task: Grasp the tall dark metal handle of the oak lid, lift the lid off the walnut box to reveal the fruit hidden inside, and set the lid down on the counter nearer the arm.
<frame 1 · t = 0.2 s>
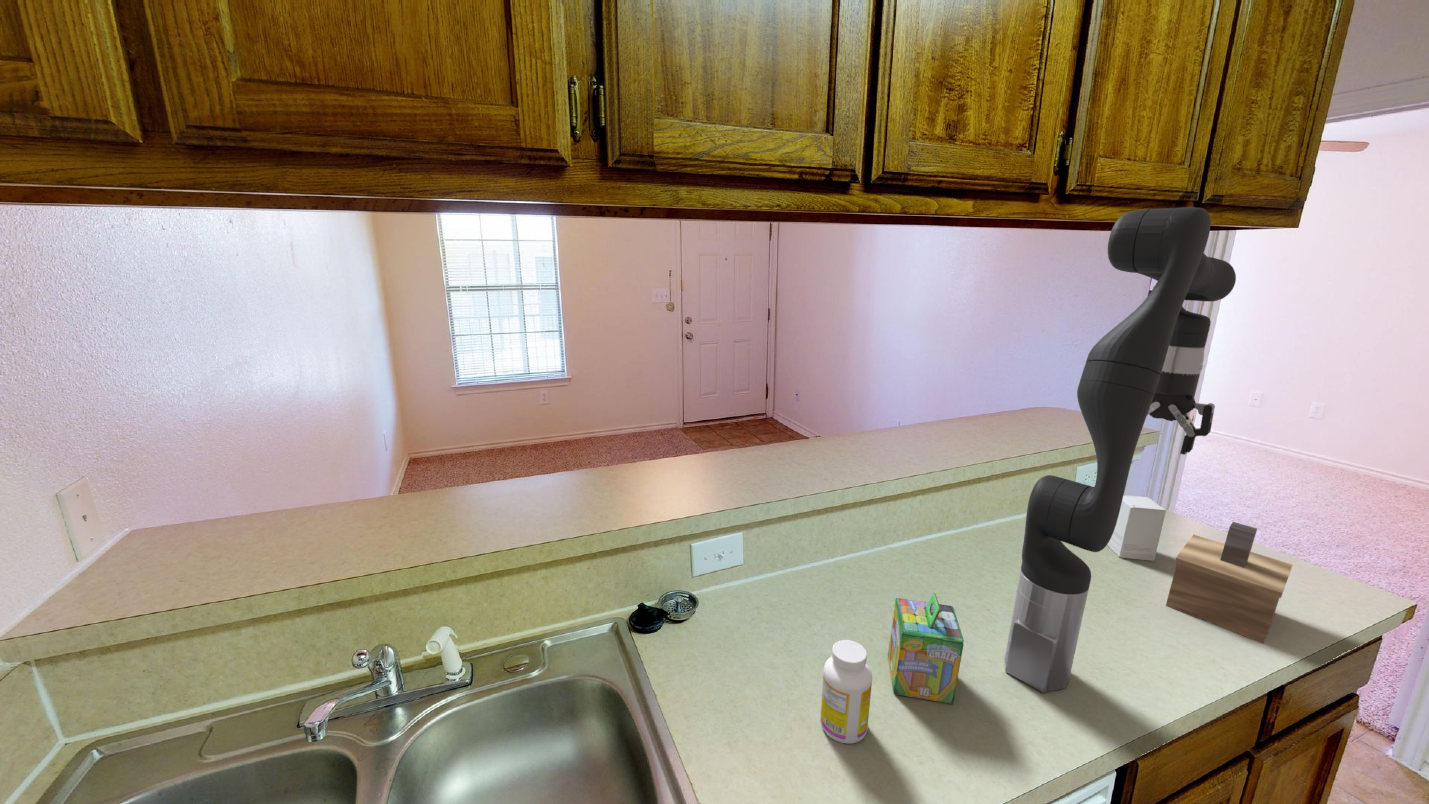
hand: (1156, 447, 111), 29 cm above the worktop, fingers open, 8 cm apart
supplement box: (1128, 552, 128), on the worktop
box: (1219, 609, 108), on the worktop
lid: (1232, 565, 105), point 9 cm above the worktop, touching box
supplement bottle: (842, 727, 80), on the worktop
chalk box: (919, 680, 89), on the worktop
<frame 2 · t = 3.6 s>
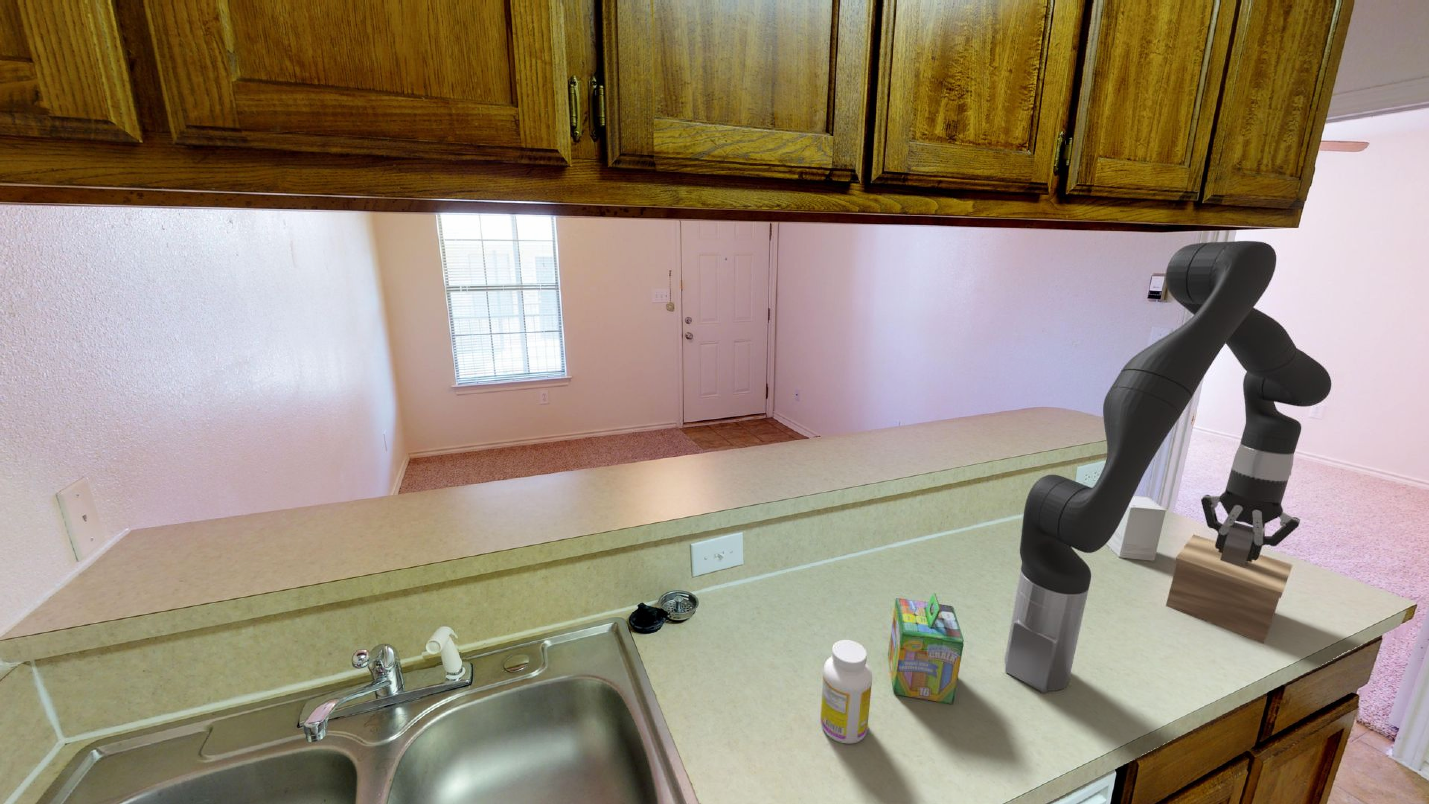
hand: (1235, 555, 105), 12 cm above the worktop, fingers closed on lid, 3 cm apart
lid: (1232, 565, 105), point 9 cm above the worktop, touching box, gripper
everything else where it was.
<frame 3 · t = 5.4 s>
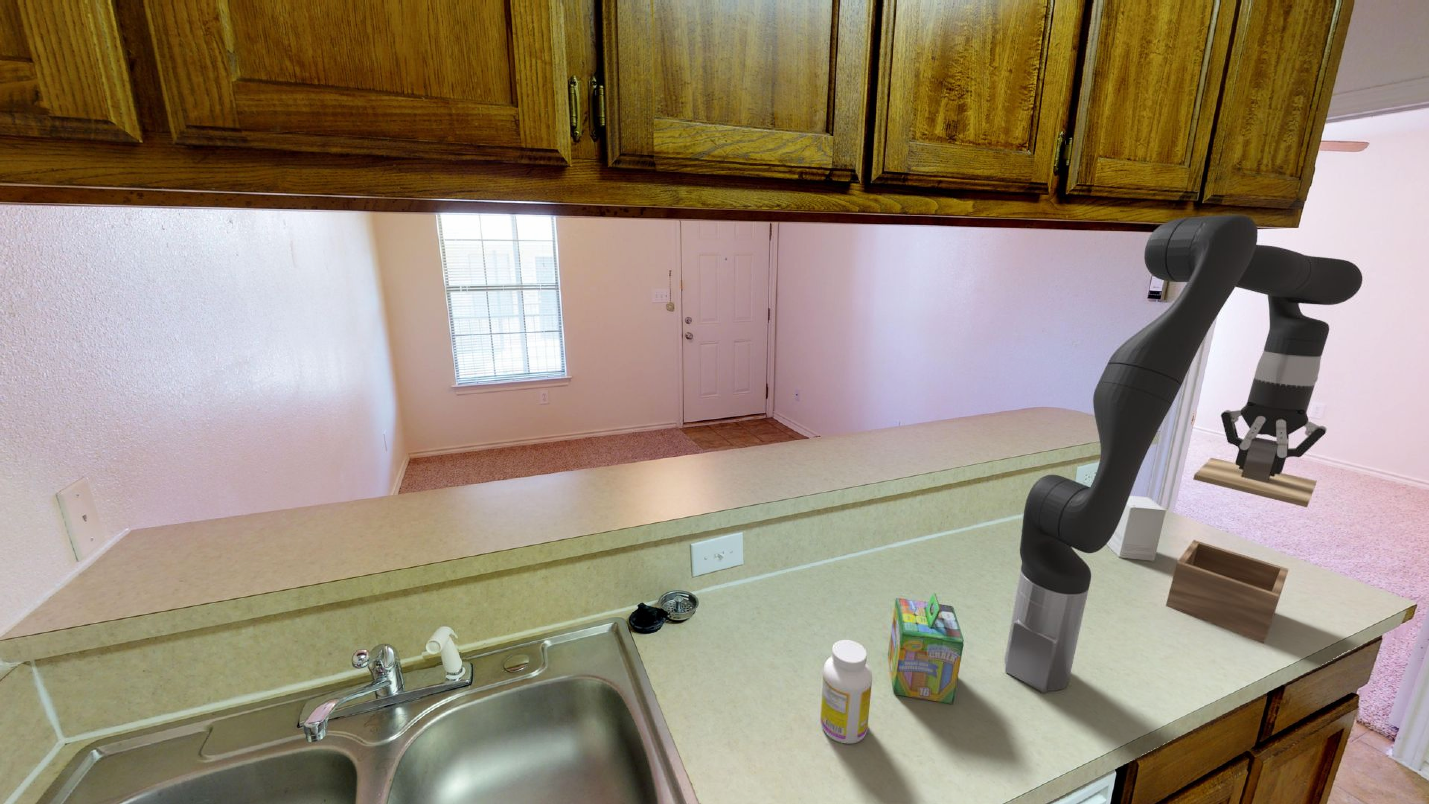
hand: (1257, 471, 100), 29 cm above the worktop, fingers closed on lid, 3 cm apart
lid: (1253, 482, 101), point 27 cm above the worktop, touching gripper
everything else where it was.
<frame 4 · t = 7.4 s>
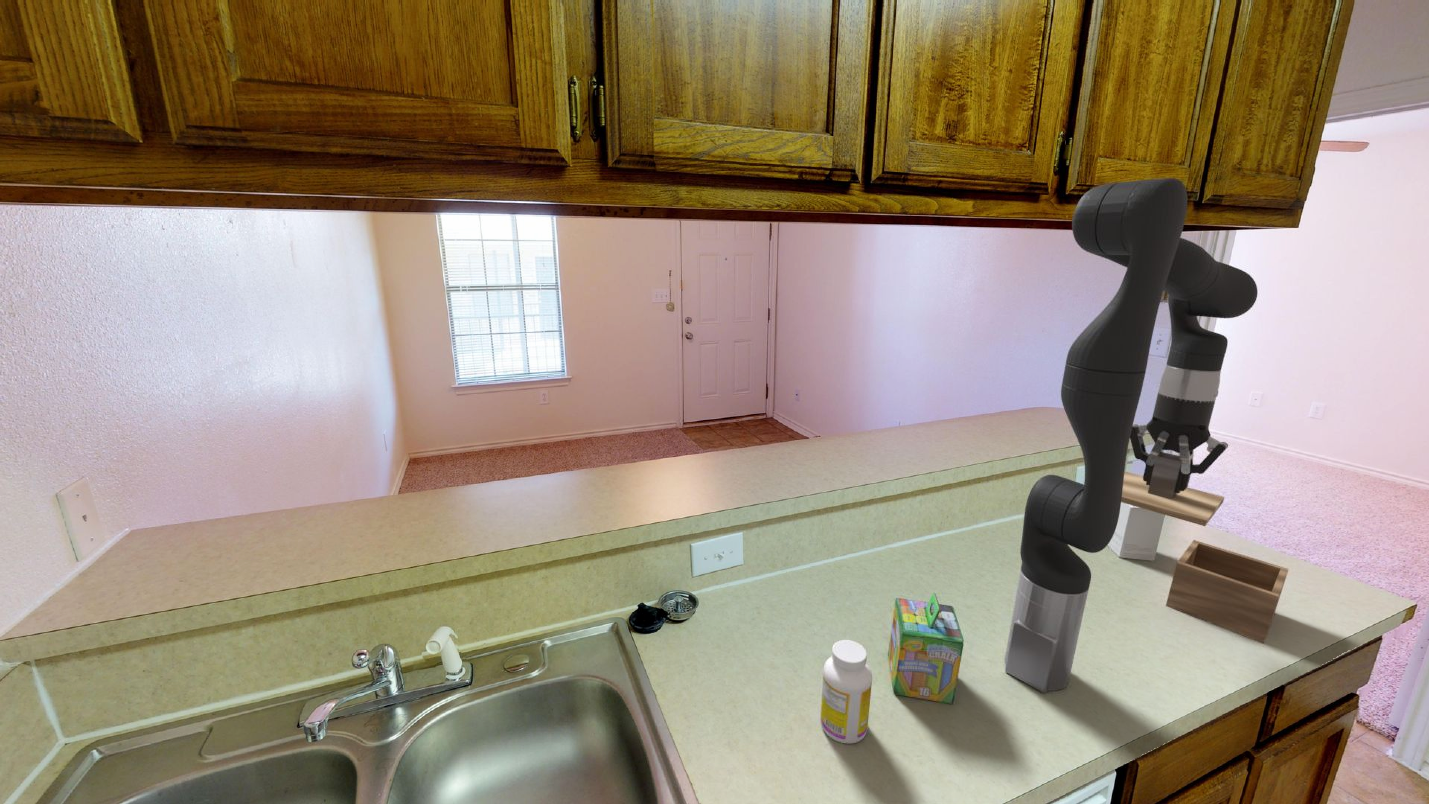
hand: (1163, 487, 98), 27 cm above the worktop, fingers closed on lid, 3 cm apart
lid: (1160, 498, 98), point 25 cm above the worktop, touching gripper
everything else where it was.
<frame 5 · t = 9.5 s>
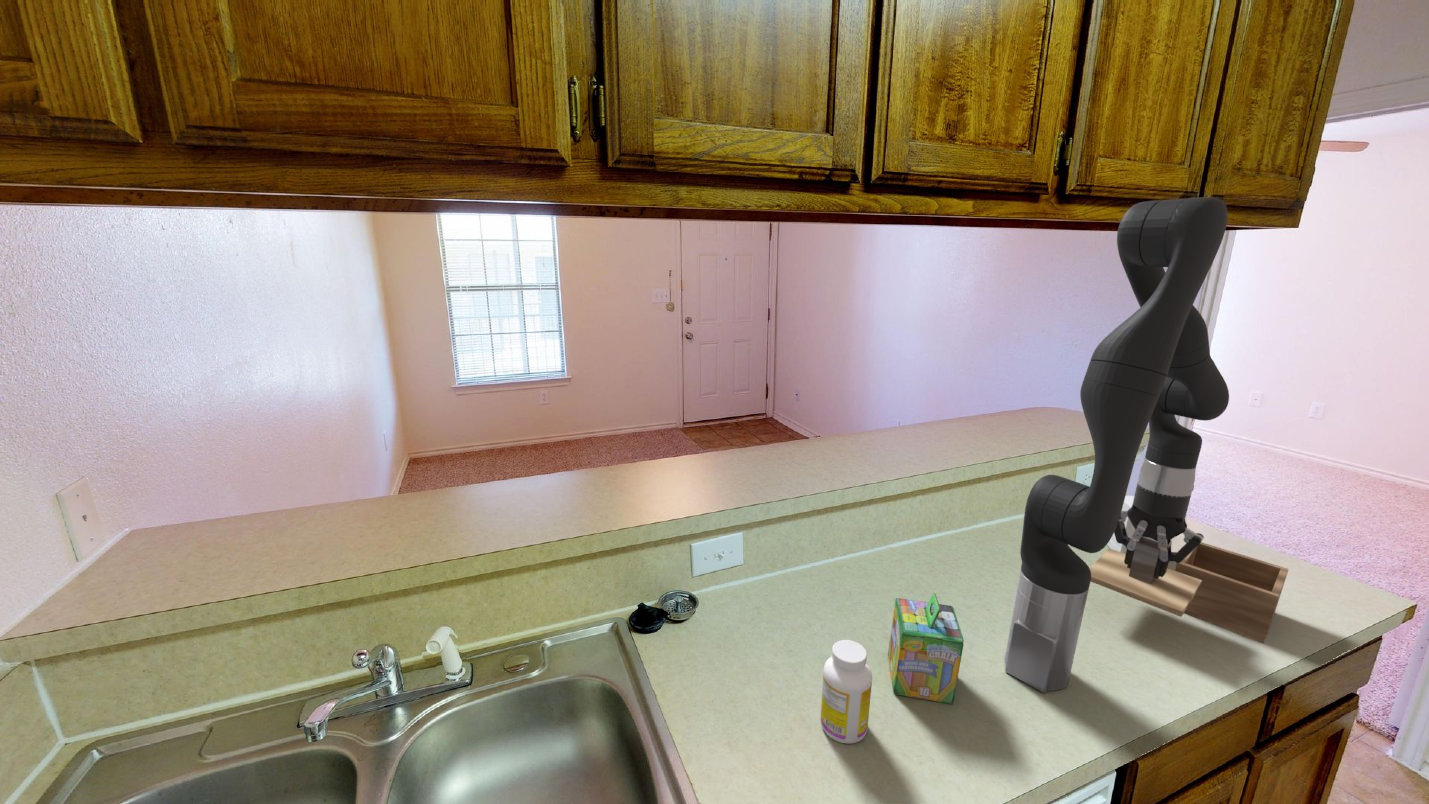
hand: (1143, 571, 102), 10 cm above the worktop, fingers closed on lid, 3 cm apart
lid: (1141, 581, 103), point 8 cm above the worktop, touching gripper
everything else where it was.
when the fingers open (4 cm above the worktop, at t = 11.4 s): lid drops 2 cm, on the worktop.
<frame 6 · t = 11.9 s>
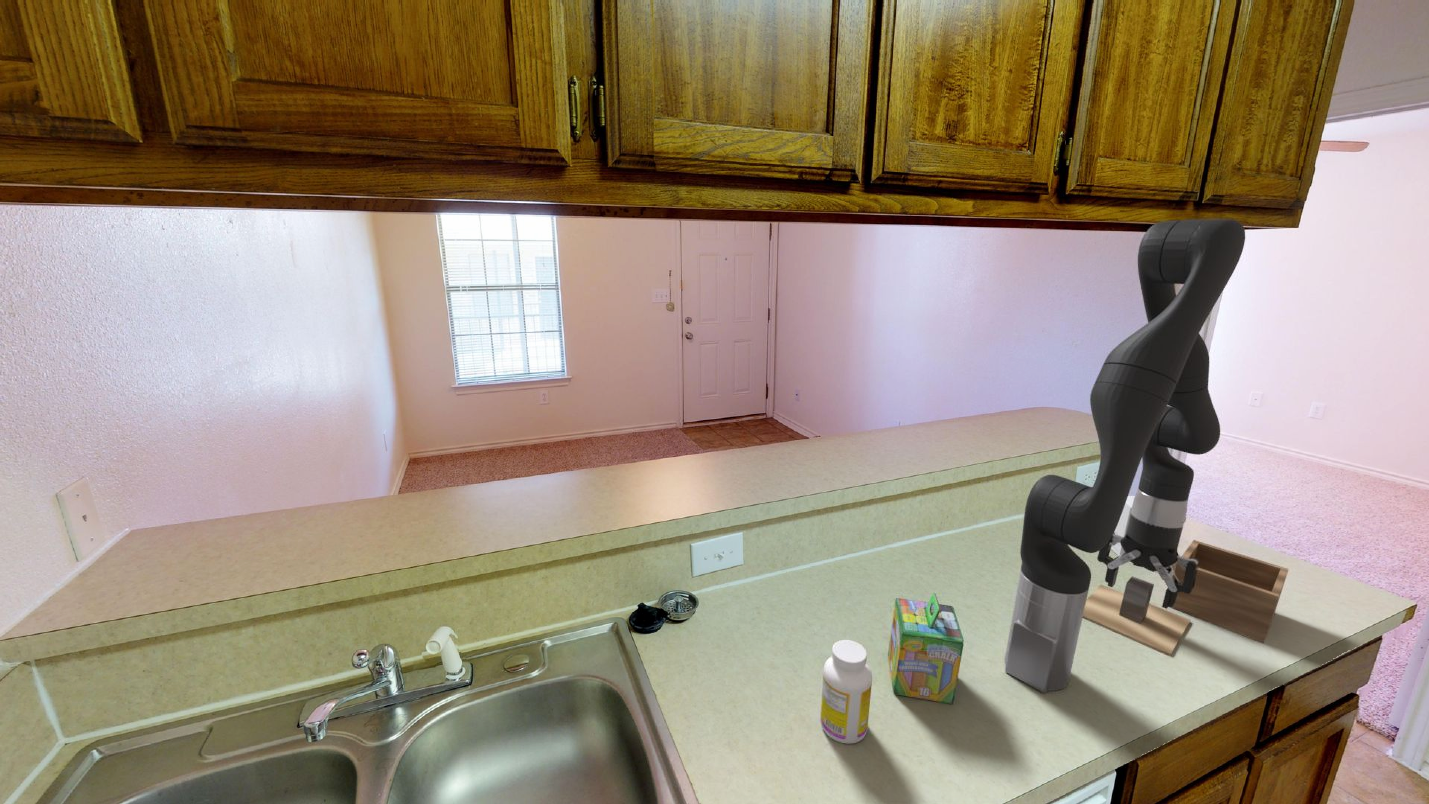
hand: (1137, 595, 103), 5 cm above the worktop, fingers open, 8 cm apart
lid: (1131, 620, 105), on the worktop
everything else where it was.
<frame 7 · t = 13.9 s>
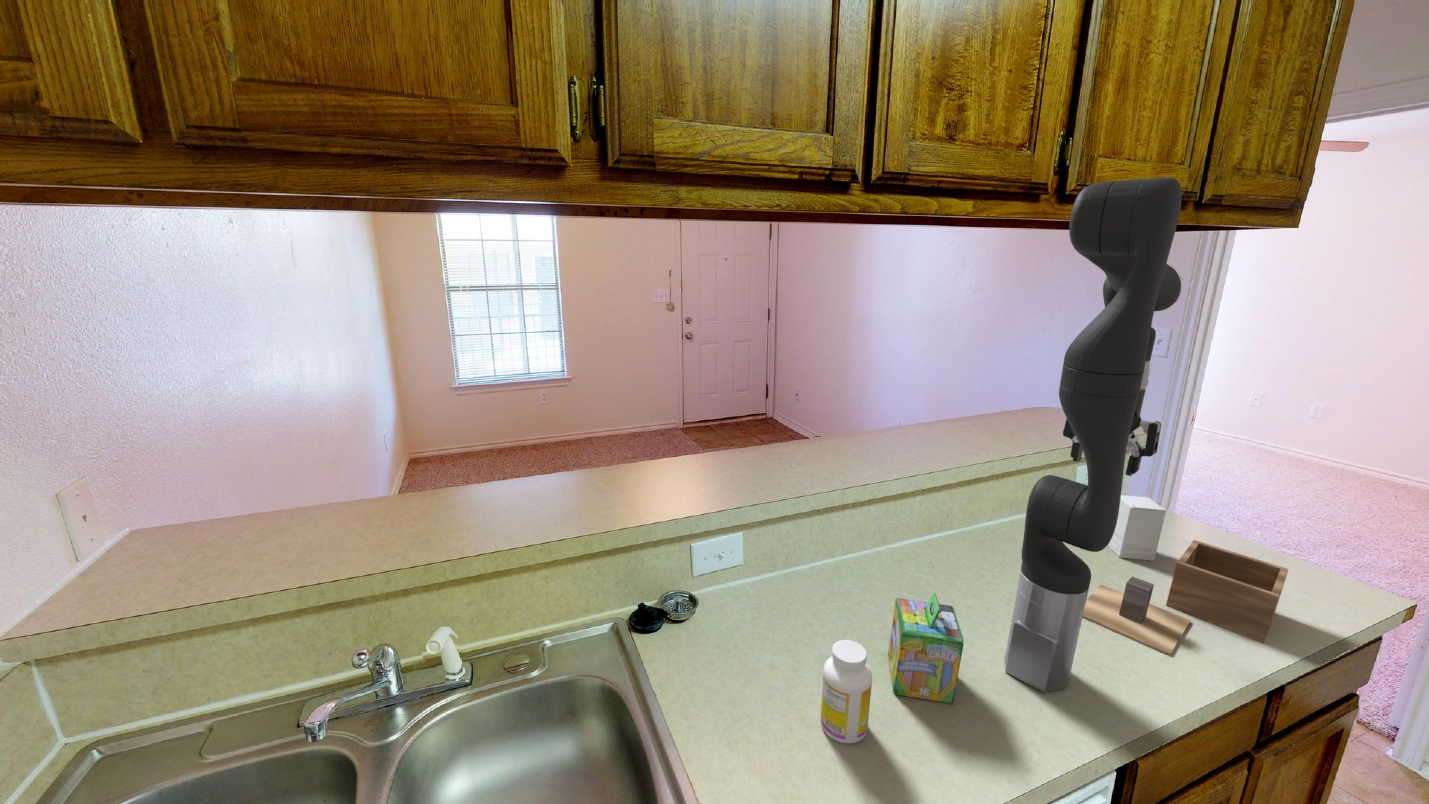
hand: (1102, 467, 103), 28 cm above the worktop, fingers open, 8 cm apart
nothing on the worktop moved.
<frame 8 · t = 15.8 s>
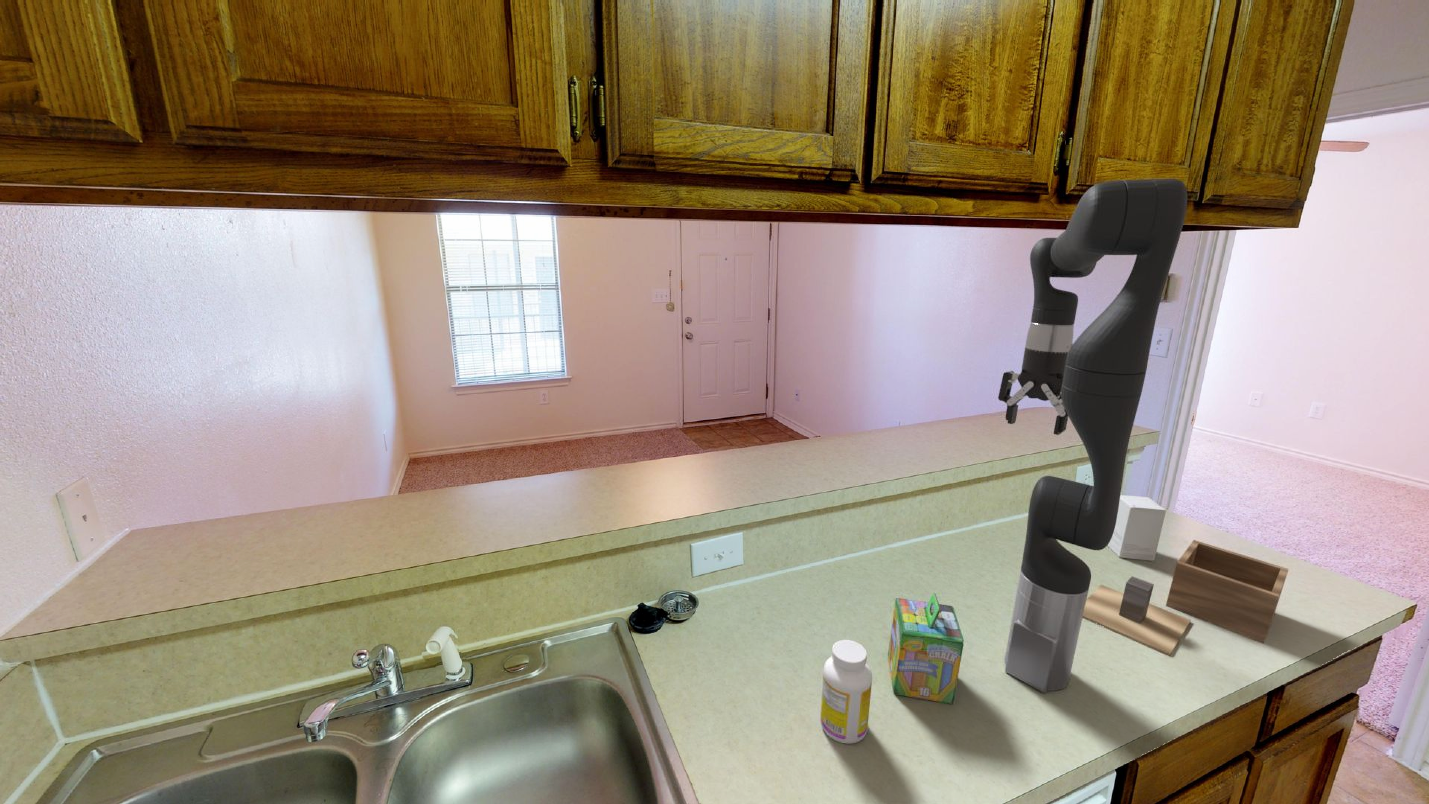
hand: (1033, 428, 109), 33 cm above the worktop, fingers open, 8 cm apart
nothing on the worktop moved.
at the end: lid moved 22.2 cm from its start; lid on the worktop; the gripper is holding nothing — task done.
